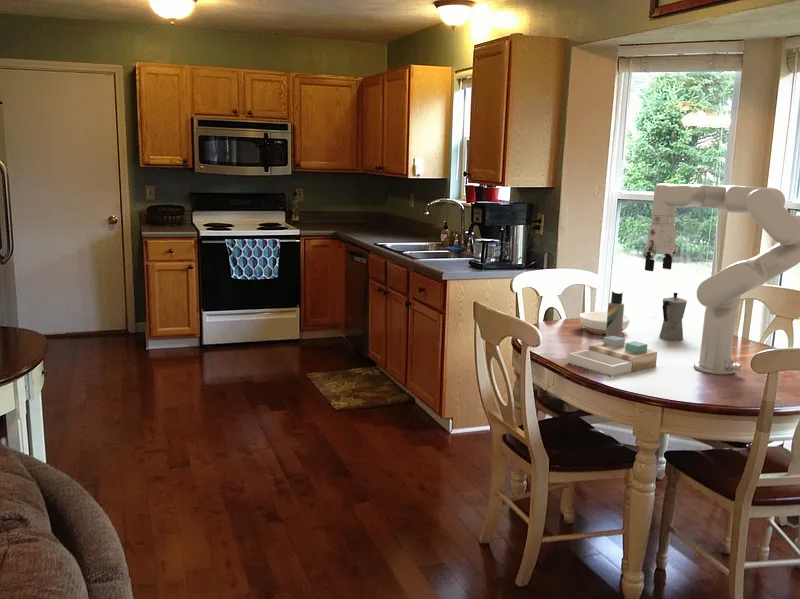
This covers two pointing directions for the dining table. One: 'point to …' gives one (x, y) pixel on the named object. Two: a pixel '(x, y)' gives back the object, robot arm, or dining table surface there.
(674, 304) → the coffeepot
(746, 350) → the dining table surface
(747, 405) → the dining table surface
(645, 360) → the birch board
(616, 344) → the slate tile
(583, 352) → the box
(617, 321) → the lotion bottle
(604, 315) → the bowl
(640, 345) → the teal tile
